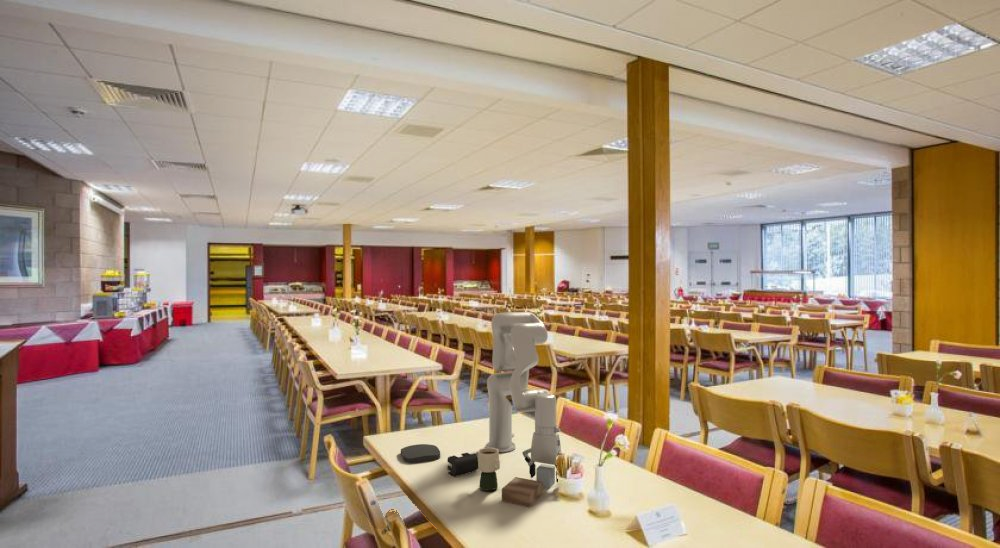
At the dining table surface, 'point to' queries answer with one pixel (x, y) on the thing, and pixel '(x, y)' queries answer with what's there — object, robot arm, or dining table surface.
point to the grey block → (546, 475)
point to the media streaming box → (420, 453)
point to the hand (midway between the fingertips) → (545, 478)
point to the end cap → (462, 464)
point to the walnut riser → (522, 491)
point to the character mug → (488, 467)
